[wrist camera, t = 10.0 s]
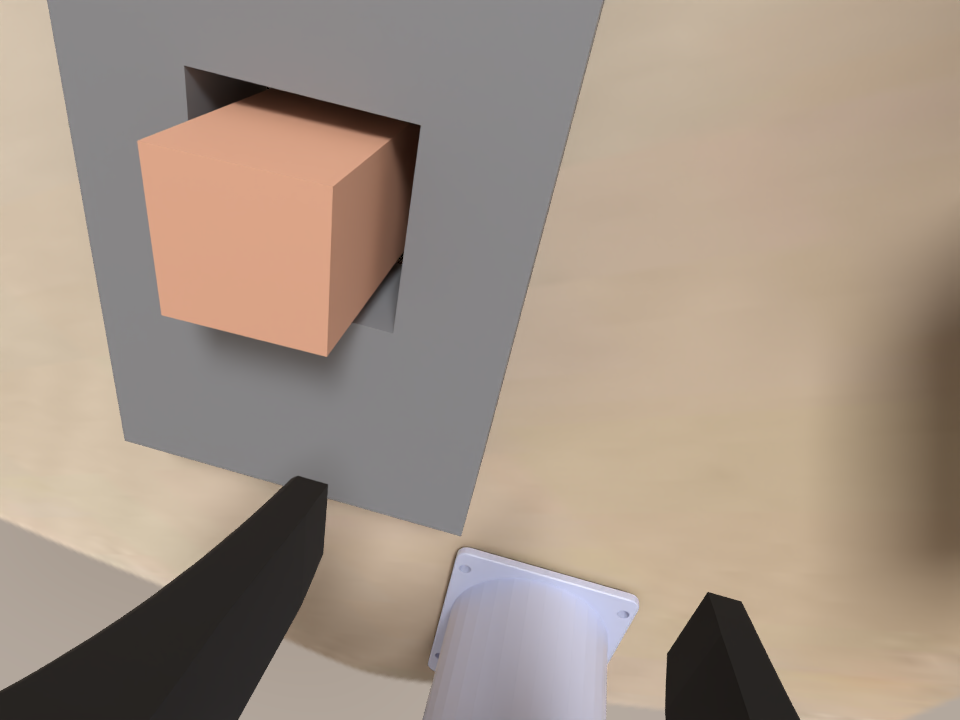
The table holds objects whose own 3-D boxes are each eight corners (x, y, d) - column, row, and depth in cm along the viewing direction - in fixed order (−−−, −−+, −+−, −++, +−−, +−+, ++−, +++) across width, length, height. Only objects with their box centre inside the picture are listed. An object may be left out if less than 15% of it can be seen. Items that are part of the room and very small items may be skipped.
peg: (411, 240, 20) (326, 356, 14) (292, 211, 20) (161, 314, 15) (426, 110, 18) (332, 186, 12) (291, 79, 18) (137, 140, 12)
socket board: (482, 457, 24) (460, 536, 21) (190, 375, 25) (124, 440, 22) (666, -233, 13) (681, -295, 10) (125, -351, 14) (-33, -447, 10)
